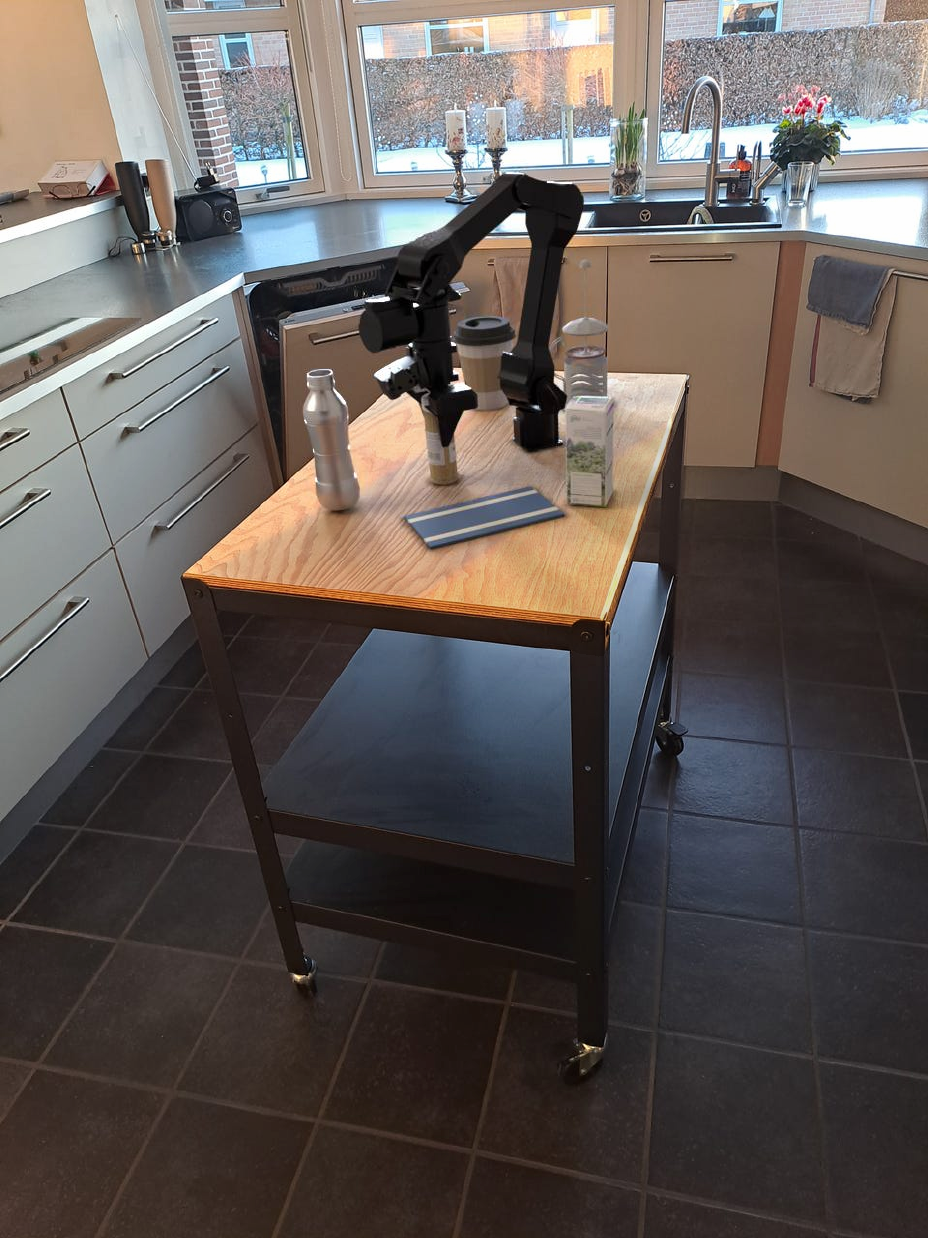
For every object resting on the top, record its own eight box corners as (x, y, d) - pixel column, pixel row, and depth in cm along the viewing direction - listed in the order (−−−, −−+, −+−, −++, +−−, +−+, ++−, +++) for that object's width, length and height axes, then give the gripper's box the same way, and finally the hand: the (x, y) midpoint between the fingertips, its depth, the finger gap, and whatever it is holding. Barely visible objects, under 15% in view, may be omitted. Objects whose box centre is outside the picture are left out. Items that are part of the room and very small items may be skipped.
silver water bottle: (327, 519, 133) (305, 383, 123) (312, 503, 138) (289, 372, 128) (369, 508, 135) (350, 374, 125) (352, 493, 141) (333, 363, 130)
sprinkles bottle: (464, 480, 142) (457, 395, 135) (439, 488, 140) (431, 402, 133) (448, 471, 145) (441, 388, 138) (424, 479, 143) (415, 395, 136)
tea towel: (530, 488, 137) (530, 485, 137) (564, 515, 128) (564, 513, 128) (404, 518, 132) (403, 515, 131) (430, 549, 123) (430, 546, 123)
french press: (616, 411, 163) (618, 263, 150) (550, 416, 164) (546, 268, 151) (609, 394, 171) (610, 251, 158) (547, 398, 172) (543, 257, 159)
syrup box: (613, 491, 134) (614, 394, 127) (605, 508, 129) (606, 408, 122) (575, 489, 136) (574, 393, 128) (565, 506, 131) (564, 407, 124)
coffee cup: (462, 395, 177) (456, 315, 169) (521, 393, 175) (518, 312, 168) (454, 415, 168) (447, 331, 160) (516, 413, 166) (512, 329, 158)
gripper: (358, 332, 136) (370, 433, 144) (398, 362, 121) (409, 473, 129) (428, 321, 140) (437, 420, 148) (476, 348, 124) (482, 457, 133)
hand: (439, 441), depth 139 cm, fingers closed on sprinkles bottle, 4 cm apart
